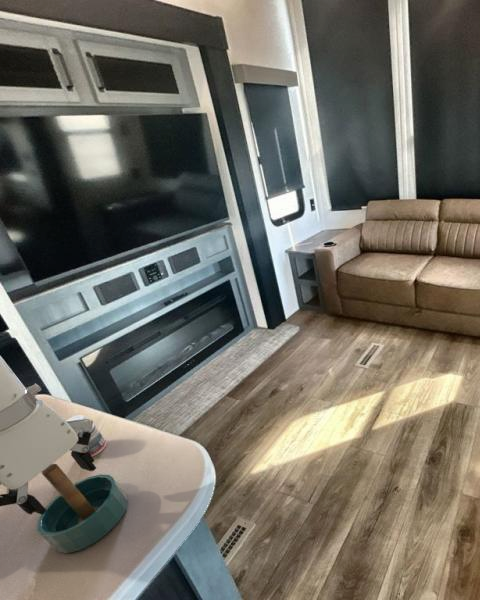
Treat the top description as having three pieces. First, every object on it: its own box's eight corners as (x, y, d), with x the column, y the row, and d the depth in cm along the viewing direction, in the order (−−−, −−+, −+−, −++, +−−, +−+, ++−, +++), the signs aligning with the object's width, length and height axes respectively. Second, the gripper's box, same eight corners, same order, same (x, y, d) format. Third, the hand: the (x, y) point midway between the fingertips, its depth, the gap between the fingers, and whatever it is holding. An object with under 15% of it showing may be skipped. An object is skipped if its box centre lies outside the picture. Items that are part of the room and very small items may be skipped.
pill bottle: (73, 457, 81) (51, 428, 77) (97, 438, 85) (77, 410, 81) (89, 461, 79) (67, 433, 75) (112, 442, 83) (92, 414, 79)
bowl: (39, 545, 64) (21, 526, 61) (103, 486, 73) (89, 468, 70) (82, 563, 60) (64, 544, 57) (143, 499, 69) (129, 481, 67)
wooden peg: (75, 526, 65) (30, 476, 59) (95, 507, 68) (54, 457, 62) (89, 531, 64) (44, 480, 58) (109, 512, 67) (68, 461, 61)
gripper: (49, 372, 62) (100, 443, 70) (-96, 457, 48) (-10, 534, 56) (78, 377, 60) (128, 451, 68) (-66, 468, 45) (19, 547, 54)
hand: (65, 488), depth 62 cm, fingers open, 7 cm apart
